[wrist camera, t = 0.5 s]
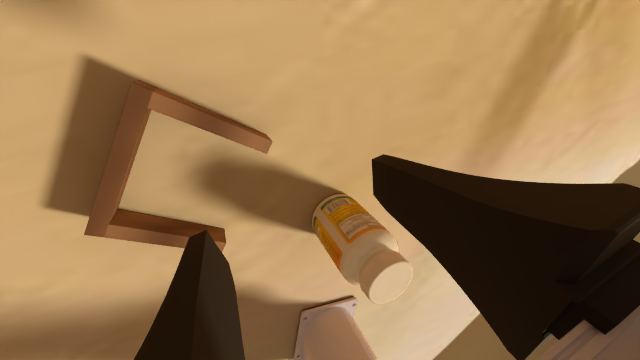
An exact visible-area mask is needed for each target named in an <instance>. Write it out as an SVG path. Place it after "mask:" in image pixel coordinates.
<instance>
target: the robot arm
mask: <svg viewBox="0 0 640 360" xmlns="http://www.w3.org/2000/svg"><path fill="white" fill-rule="evenodd" d="M372 173H373V195H374V196H375V197H376V198H377V200H378V201H379V202H380V204H381V205H382V206H383V207H384V208H385V209H386V211H387V212H388V213H389V214H390V215H391V216H393V217H394V218H395V219H396V220H397V221H398V222H399V223H400V224H401V225H402V226H403V227H404V228H405V229H406V230H408V231H409V232H410V233H411V234H412V235H413V236H414V237H415V238H416V239H417V240H418V241H419V242H420V243H422V244H423V245H424V246H425V247H426V248H427V249H428V250H429V251H430V252H431V253H432V255H433V256H434V257H435V258H436V259H437V260H438V261H439V263H440V264H441V265H442V266H443V267H444V268H445V269H446V270H447V272H448V273H449V274H450V275H451V276H452V278H453V279H454V280H455V281H456V282H457V284H458V285H459V286H460V287H461V288H462V290H463V291H464V292H465V294H466V295H467V296H468V297H469V299H470V300H471V301H472V302H473V304H474V305H475V306H476V308H477V309H478V310H479V311H480V313H481V314H482V315H483V317H484V318H485V320H486V321H487V322H488V324H489V325H490V326H491V328H492V329H493V330H494V332H495V333H496V335H497V336H498V337H499V339H500V340H501V341H502V343H503V345H504V346H505V347H506V349H507V350H508V351H509V352H510V353H511V354H512V355H513V356H514V357H515V358H516V359H517V360H526V359H527V358H528V357H529V356H530V355H532V354H533V353H534V352H535V351H537V350H538V349H539V348H540V347H542V345H544V344H545V343H546V342H548V341H549V340H550V339H551V338H552V337H554V336H555V337H556V338H557V339H558V340H559V341H558V342H557V343H555V344H554V345H553V346H552V347H551V348H549V349H548V350H547V351H546V352H545V353H543V354H542V355H541V356H540V357H539V358H537V359H536V360H640V243H639V242H637V241H635V240H633V239H634V238H635V236H636V235H637V234H638V233H639V232H640V188H638V187H635V186H632V185H628V184H623V183H622V184H621V183H619V184H560V183H537V182H523V181H512V180H502V179H494V178H487V177H480V176H474V175H468V174H463V173H458V172H453V171H448V170H444V169H440V168H435V167H431V166H427V165H424V164H420V163H416V162H412V161H408V160H405V159H401V158H397V157H393V156H388V155H381V156H379V157H376V158H374V159H372ZM357 301H358V300H357V298H356V297H353V298H349V299H345V300H342V301H338V302H334V303H331V304H327V305H323V306H319V307H316V308H312V309H308V310H305V311H303V312H302V313H301V317H300V323H299V329H298V335H297V341H296V346H295V352H294V358H293V360H378V359H377V357H376V356H375V354H374V352H373V350H372V349H371V347H370V345H369V344H368V342H367V340H366V339H365V337H364V335H363V334H362V332H361V330H360V329H359V327H358V325H357V324H356V322H355V320H354V318H353V316H354V312H355V309H356V305H357ZM134 360H245V356H244V350H243V343H242V336H241V328H240V320H239V313H238V305H237V298H236V291H235V285H234V281H233V277H232V273H231V270H230V266H229V263H228V261H227V260H226V258H225V257H224V255H223V254H222V252H221V251H220V249H219V248H218V246H217V245H216V243H215V242H214V240H213V239H212V237H211V236H210V234H209V233H208V231H207V230H205V231H202V232H200V233H198V234H195V235H193V236H191V237H189V239H188V241H187V244H186V247H185V249H184V252H183V255H182V257H181V260H180V263H179V265H178V268H177V270H176V273H175V275H174V278H173V280H172V282H171V285H170V287H169V290H168V292H167V294H166V297H165V299H164V301H163V303H162V305H161V307H160V310H159V312H158V314H157V316H156V318H155V320H154V322H153V324H152V326H151V328H150V330H149V332H148V334H147V336H146V338H145V340H144V342H143V344H142V346H141V348H140V349H139V351H138V353H137V355H136V357H135V358H134Z"/></svg>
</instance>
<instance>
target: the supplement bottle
mask: <svg viewBox="0 0 640 360" xmlns="http://www.w3.org/2000/svg"><path fill="white" fill-rule="evenodd" d="M312 227H313V230H314V232H315V233H316V235H317V237H318V238H319V240H320V241H321V243H322V244H323V246H324V247H325V249H326V251H327V252H328V254H329V255H330V257H331V258H332V260H333V261H334V263H335V265H336V266H337V268H338V269H339V271H340V272H341V274H342V275H343V277H344V278H345V279H346V280H347V281H348V282H350V283H351V284H354V285H358V286H360V287H361V289H362V291H363V292H364V293H365V294H366V296H367V297H368V299H369V300H370V301H371V302H372V303H375V304H384V303H387V302H390V301H392V300H394V299H395V298H397V297H398V296H399V295H400V294H401V293H402V292H403V291H404V290H405V289H406V288H407V287H408V285H409V283H410V281H411V279H412V276H413V268H412V266H411V264H410V263H409V262H408V261H407V260H406V259H405V258H404V257H403V256H402V255H401V254H400V253H398V245H397V242H396V239H395V238H394V236H393V235H392V234H391V233H390V232H389V231H388V230H387V229H386V228H385V227H384V226H382V225H381V224H380V223H379V222H378V221H377V220H376V219H375V218H374V217H373V216H371V215H370V214H369V213H368V212H367V211H366V210H365V209H364V208H363V207H362V206H361V205H360V204H359V203H358V202H356V201H355V200H354V199H353V198H352V197H350V196H348V195H345V194H336V195H332V196H330V197H328V198H326V199H325V200H323V201H322V202H321V203H320V204H319V205H318V206H317V208H316V209H315V211H314V213H313V217H312Z"/></svg>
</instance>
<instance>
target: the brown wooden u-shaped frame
mask: <svg viewBox="0 0 640 360" xmlns="http://www.w3.org/2000/svg"><path fill="white" fill-rule="evenodd" d="M151 110H154V111H156V112H159V113H162V114H164V115H167V116H170V117H172V118H175V119H177V120H180V121H183V122H185V123H188V124H190V125H193V126H196V127H198V128H201V129H203V130H206V131H209V132H211V133H214V134H216V135H219V136H222V137H224V138H227V139H229V140H232V141H235V142H237V143H240V144H243V145H245V146H248V147H250V148H253V149H256V150H258V151H261V152H263V153H266V154H267V153H268V150H269V148H270V146H271V144H272V140H271V139H270V138H269V137H268V136H267V135H266V134H263V133H261V132H259V131H256V130H254V129H252V128H249V127H247V126H245V125H242V124H240V123H238V122H235V121H233V120H231V119H228V118H226V117H224V116H221V115H219V114H217V113H214V112H212V111H210V110H207V109H205V108H202V107H200V106H198V105H195V104H193V103H191V102H188V101H186V100H184V99H181V98H179V97H177V96H174V95H172V94H170V93H167V92H165V91H163V90H160V89H158V88H156V87H153V86H151V85H149V84H146V83H144V82H142V81H136V82H133V83H131V87H130V90H129V93H128V96H127V99H126V103H125V106H124V109H123V112H122V115H121V118H120V122H119V125H118V128H117V131H116V134H115V138H114V141H113V144H112V147H111V150H110V154H109V157H108V160H107V163H106V166H105V169H104V173H103V176H102V179H101V182H100V185H99V189H98V192H97V195H96V198H95V201H94V204H93V208H92V211H91V214H90V217H89V220H88V224H87V227H86V230H85V233H84V235H90V236H98V237H105V238H113V239H120V240H128V241H135V242H143V243H150V244H158V245H165V246H172V247H180V248H185V247H186V244H187V241H188V239H189V237H191V236H193V235H195V234H198V233H200V232H202V231H205V230H207V231H208V233H209V234H210V236H211V237H212V239H213V240H214V242H215V243H216V245H217V246H218V248H219V249H220V251H221V252H222V251H223V249H224V247H225V244H226V238H225V231H224V229H222V228H217V227H211V226H206V225H201V224H195V223H190V222H185V221H179V220H174V219H169V218H163V217H158V216H152V215H147V214H142V213H136V212H131V211H126V210H120V209H118V206H119V203H120V200H121V197H122V194H123V191H124V188H125V185H126V182H127V179H128V177H129V174H130V171H131V168H132V165H133V162H134V159H135V156H136V153H137V150H138V147H139V144H140V141H141V138H142V135H143V132H144V129H145V126H146V123H147V120H148V117H149V114H150V112H151Z"/></svg>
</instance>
